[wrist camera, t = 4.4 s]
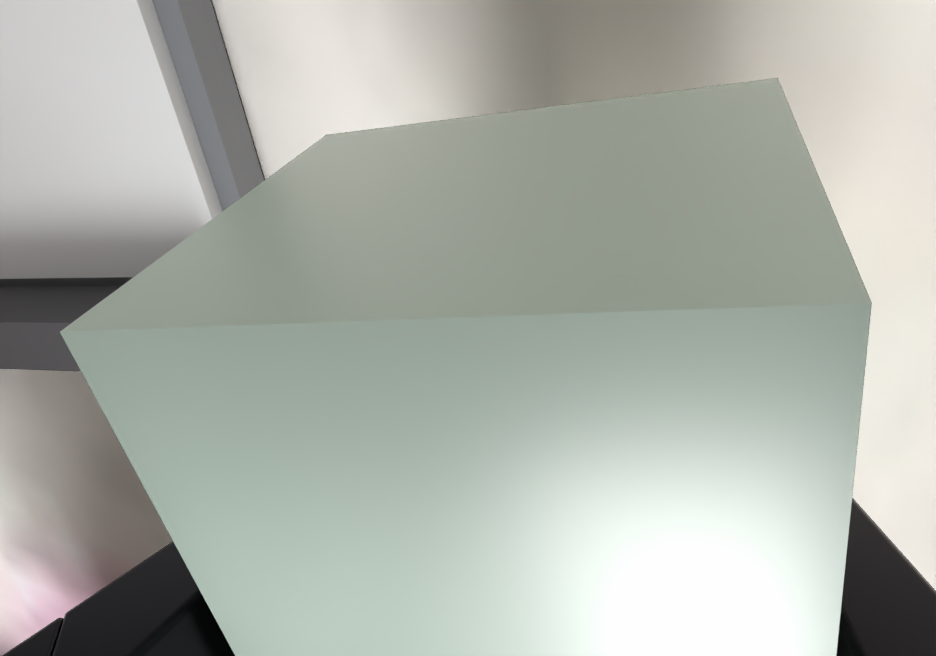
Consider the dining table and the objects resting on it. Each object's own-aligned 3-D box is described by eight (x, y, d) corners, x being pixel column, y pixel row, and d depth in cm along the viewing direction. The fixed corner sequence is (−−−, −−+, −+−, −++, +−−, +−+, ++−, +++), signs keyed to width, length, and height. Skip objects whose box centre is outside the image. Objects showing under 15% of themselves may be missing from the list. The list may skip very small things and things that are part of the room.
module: (765, 614, 11) (803, 986, 7) (455, 586, 13) (359, 884, 9) (778, 78, 7) (871, 302, 3) (326, 134, 9) (60, 332, 5)
